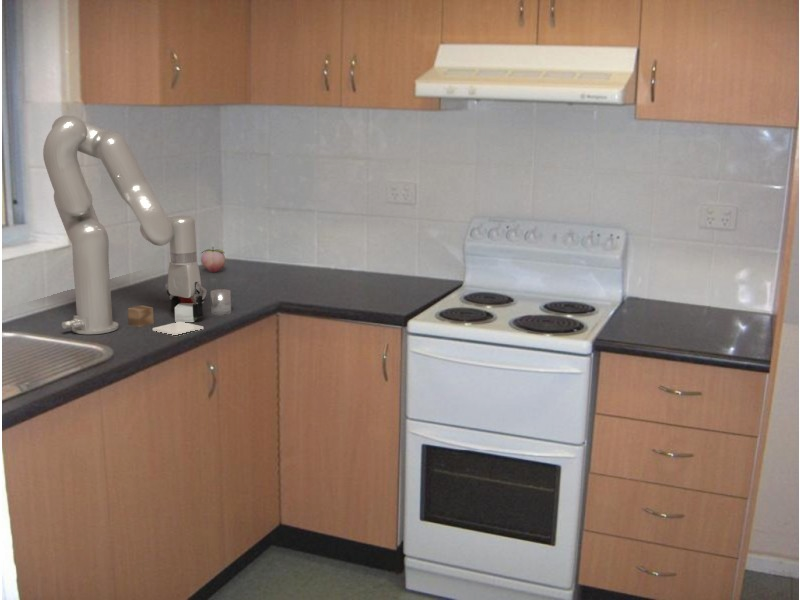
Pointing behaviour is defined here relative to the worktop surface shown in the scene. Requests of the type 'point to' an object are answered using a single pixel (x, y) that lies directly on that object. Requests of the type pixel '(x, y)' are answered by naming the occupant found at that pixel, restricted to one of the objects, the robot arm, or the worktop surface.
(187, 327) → the plate
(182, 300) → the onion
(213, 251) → the decorative fruit
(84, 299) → the robot arm
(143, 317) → the walnut block
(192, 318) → the small box
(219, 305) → the tin
